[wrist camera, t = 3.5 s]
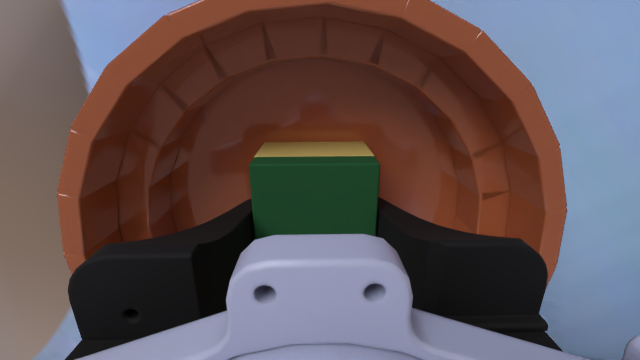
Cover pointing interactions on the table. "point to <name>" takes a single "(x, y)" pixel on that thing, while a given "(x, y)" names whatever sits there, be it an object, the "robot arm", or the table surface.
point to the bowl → (310, 120)
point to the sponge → (314, 189)
